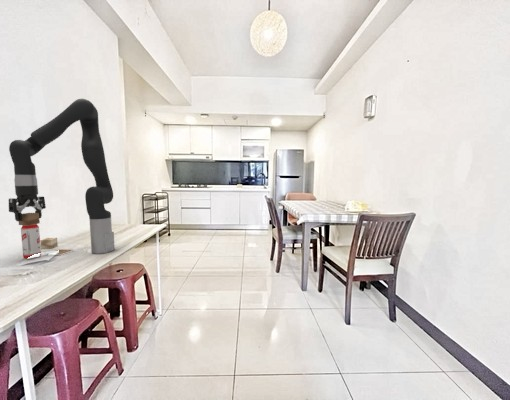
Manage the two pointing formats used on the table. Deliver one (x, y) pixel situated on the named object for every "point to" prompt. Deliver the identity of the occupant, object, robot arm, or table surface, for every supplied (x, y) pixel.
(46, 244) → the maple cube
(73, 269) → the table surface
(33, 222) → the walnut cube
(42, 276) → the table surface
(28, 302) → the table surface
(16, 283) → the table surface
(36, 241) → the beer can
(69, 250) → the tile
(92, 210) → the robot arm
